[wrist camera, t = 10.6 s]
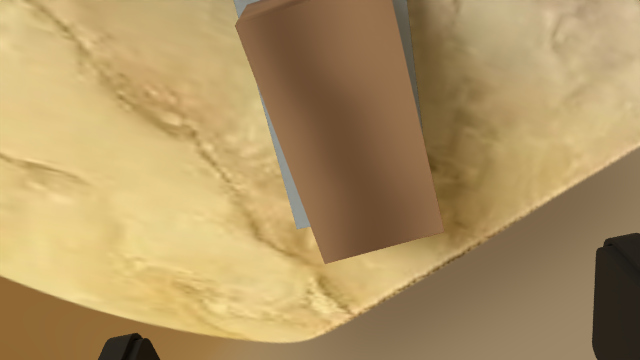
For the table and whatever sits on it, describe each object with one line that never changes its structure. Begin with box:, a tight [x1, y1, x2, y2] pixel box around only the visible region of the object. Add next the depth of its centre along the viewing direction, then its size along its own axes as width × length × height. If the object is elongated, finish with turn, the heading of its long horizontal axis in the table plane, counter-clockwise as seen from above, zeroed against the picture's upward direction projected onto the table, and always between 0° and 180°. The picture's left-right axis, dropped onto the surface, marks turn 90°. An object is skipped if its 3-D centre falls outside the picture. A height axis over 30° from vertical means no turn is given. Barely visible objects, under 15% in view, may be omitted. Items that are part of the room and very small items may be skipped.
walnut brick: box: [235, 0, 444, 264], centre depth 24 cm, size 6×12×5 cm, turn 17°
